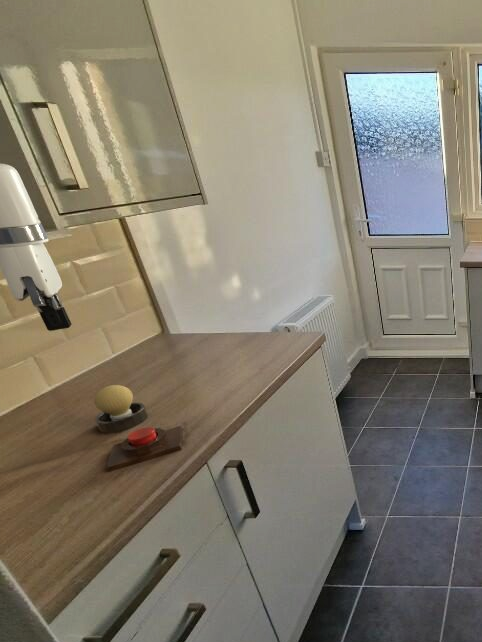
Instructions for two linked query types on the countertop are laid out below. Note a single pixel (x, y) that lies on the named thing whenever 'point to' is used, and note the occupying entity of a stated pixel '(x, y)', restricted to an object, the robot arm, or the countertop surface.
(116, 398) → the light bulb
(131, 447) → the switch block
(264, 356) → the countertop surface
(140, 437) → the switch button
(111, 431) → the socket
